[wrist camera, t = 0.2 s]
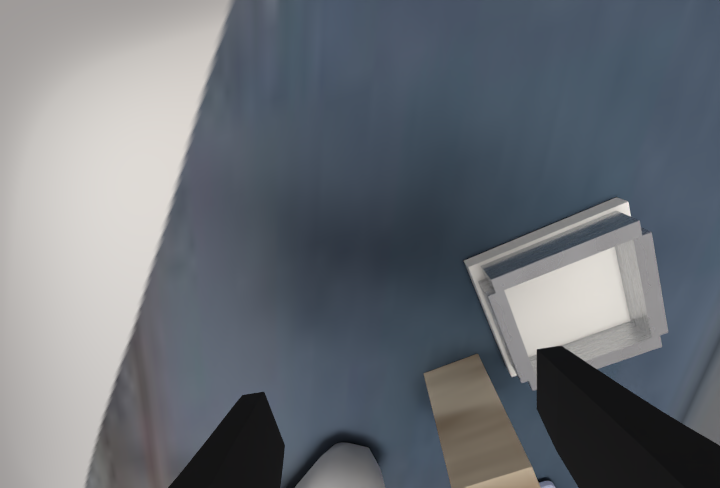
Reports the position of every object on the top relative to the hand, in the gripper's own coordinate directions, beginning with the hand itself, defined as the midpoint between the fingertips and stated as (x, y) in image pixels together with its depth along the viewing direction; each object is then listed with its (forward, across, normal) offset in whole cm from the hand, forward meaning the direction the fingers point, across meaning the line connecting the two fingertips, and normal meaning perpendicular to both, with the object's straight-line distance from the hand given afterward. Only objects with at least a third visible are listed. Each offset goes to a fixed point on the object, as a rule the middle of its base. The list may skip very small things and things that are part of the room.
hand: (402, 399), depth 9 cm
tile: (+10, -9, +4) cm, 14 cm away
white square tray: (+10, -9, +4) cm, 14 cm away
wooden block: (+10, -3, +10) cm, 14 cm away
